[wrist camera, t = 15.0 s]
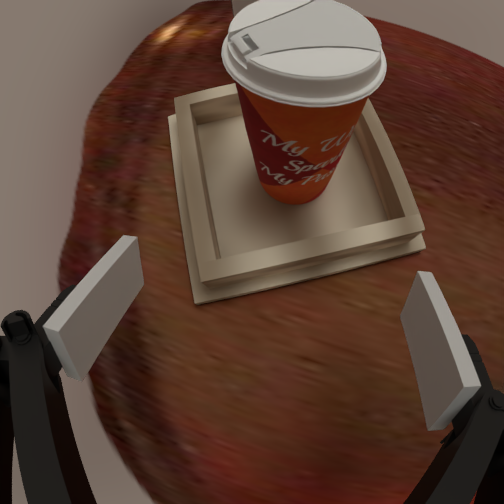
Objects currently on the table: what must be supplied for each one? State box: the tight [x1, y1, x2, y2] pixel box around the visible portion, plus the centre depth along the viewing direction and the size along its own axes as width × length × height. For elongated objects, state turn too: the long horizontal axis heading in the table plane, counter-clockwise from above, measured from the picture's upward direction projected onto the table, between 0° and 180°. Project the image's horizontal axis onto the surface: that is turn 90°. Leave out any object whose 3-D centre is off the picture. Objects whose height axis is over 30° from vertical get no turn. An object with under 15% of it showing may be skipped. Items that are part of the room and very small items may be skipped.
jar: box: [231, 0, 259, 18], centre depth 24 cm, size 9×8×12 cm
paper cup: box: [221, 0, 387, 205], centre depth 18 cm, size 8×8×14 cm
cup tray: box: [168, 83, 426, 305], centre depth 24 cm, size 18×17×4 cm
